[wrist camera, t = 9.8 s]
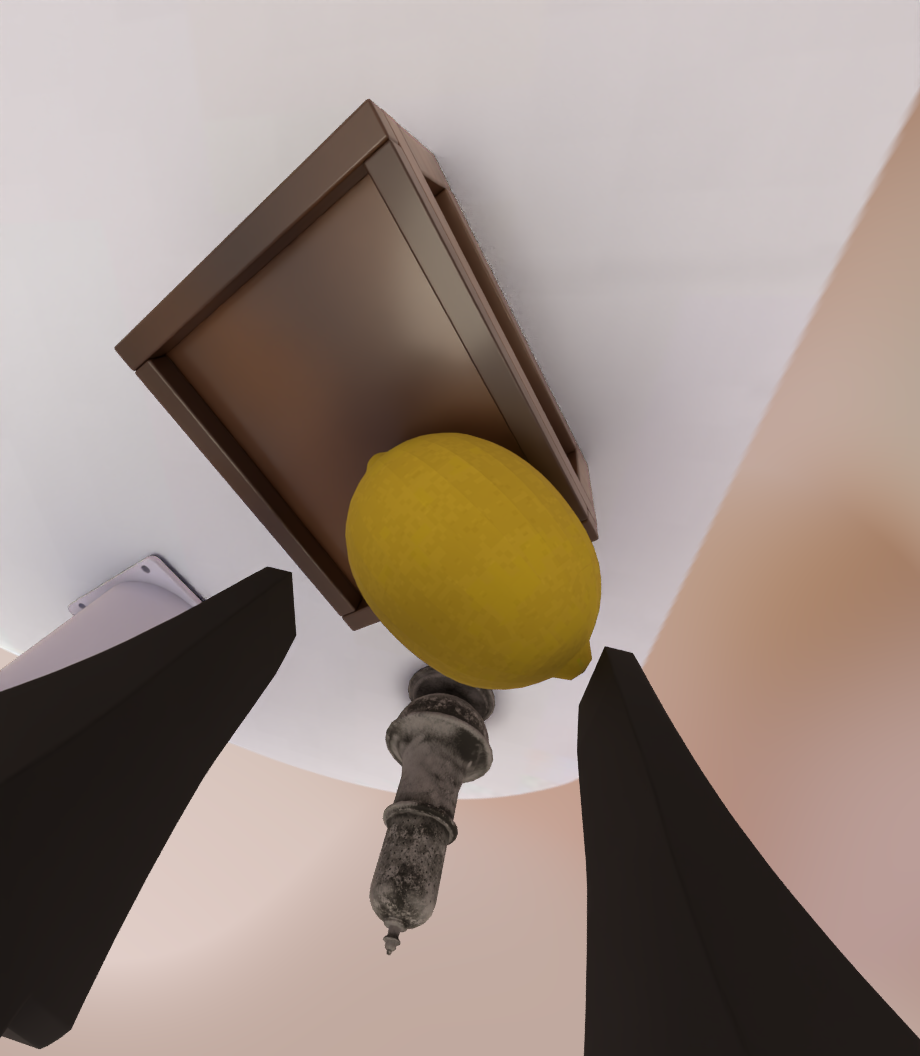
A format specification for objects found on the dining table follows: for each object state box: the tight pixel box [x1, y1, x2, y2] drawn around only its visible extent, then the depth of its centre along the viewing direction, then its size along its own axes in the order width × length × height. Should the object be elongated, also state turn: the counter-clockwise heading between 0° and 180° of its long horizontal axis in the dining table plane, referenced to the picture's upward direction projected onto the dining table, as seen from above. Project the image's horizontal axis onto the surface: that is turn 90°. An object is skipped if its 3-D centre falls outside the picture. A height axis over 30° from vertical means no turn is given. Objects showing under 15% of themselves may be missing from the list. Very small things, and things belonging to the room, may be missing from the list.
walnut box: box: [115, 99, 598, 631], centre depth 16 cm, size 10×12×6 cm
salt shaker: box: [370, 666, 495, 955], centre depth 22 cm, size 6×6×12 cm
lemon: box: [345, 433, 601, 690], centre depth 12 cm, size 6×6×8 cm
